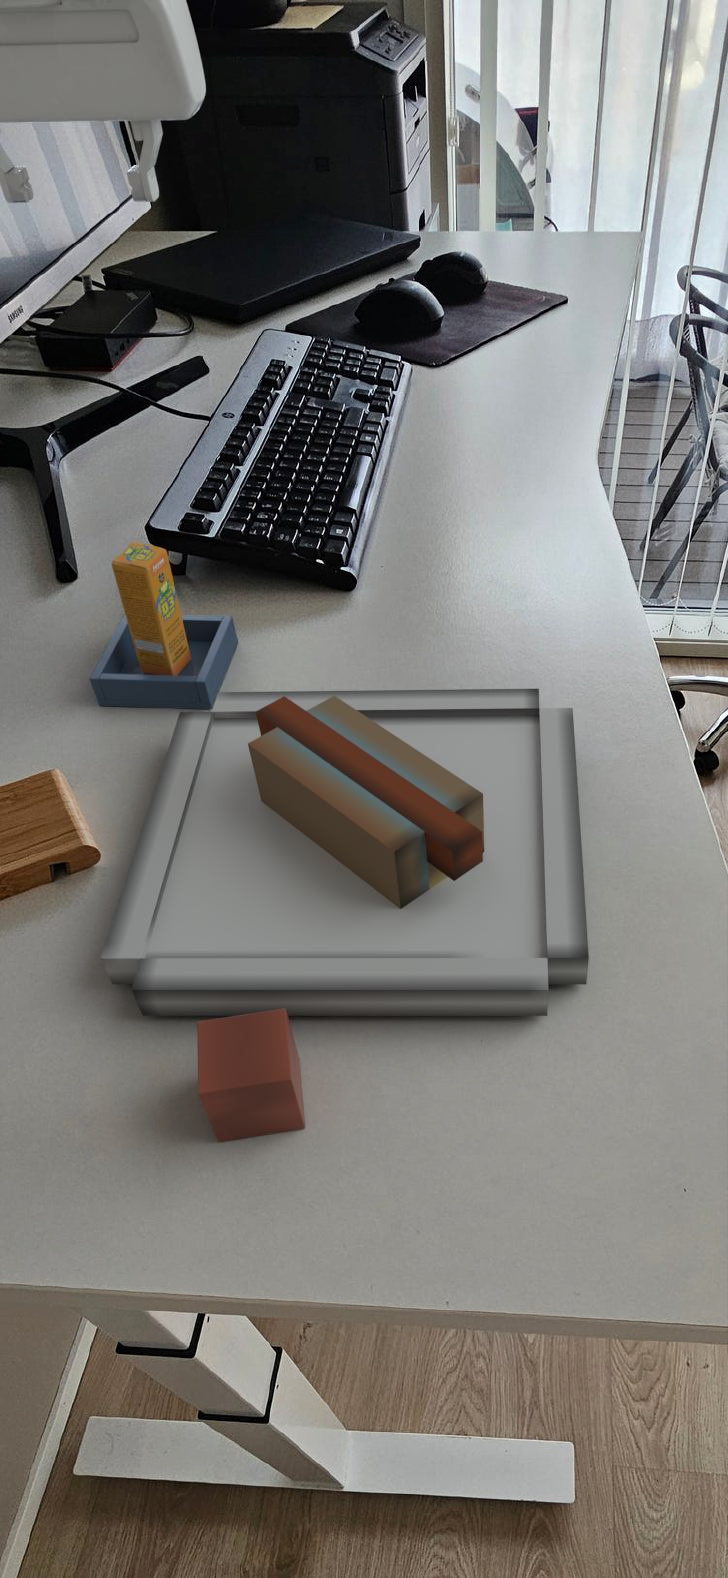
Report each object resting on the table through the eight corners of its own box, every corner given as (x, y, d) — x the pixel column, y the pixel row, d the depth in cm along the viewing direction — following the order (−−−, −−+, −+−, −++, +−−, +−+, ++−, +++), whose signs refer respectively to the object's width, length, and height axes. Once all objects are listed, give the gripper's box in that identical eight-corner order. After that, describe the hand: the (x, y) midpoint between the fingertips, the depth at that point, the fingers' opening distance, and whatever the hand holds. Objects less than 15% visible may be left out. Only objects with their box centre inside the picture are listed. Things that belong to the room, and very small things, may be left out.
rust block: (218, 1142, 59) (197, 1094, 55) (216, 1072, 62) (196, 1021, 58) (305, 1128, 59) (291, 1079, 55) (299, 1059, 62) (285, 1007, 59)
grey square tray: (105, 1021, 65) (65, 941, 59) (195, 725, 83) (172, 642, 77) (587, 1022, 63) (595, 940, 58) (569, 721, 82) (574, 636, 76)
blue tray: (98, 705, 85) (88, 678, 83) (132, 640, 91) (123, 613, 89) (211, 709, 85) (204, 681, 83) (238, 642, 91) (232, 615, 88)
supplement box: (177, 681, 86) (144, 567, 78) (141, 674, 87) (105, 560, 79) (196, 659, 88) (166, 545, 80) (160, 653, 89) (127, 539, 81)
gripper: (-172, -64, 63) (-72, 214, 74) (156, -75, 61) (208, 212, 72) (-125, -78, 67) (-37, 188, 77) (184, -89, 65) (229, 185, 76)
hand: (83, 199), depth 75 cm, fingers open, 8 cm apart
